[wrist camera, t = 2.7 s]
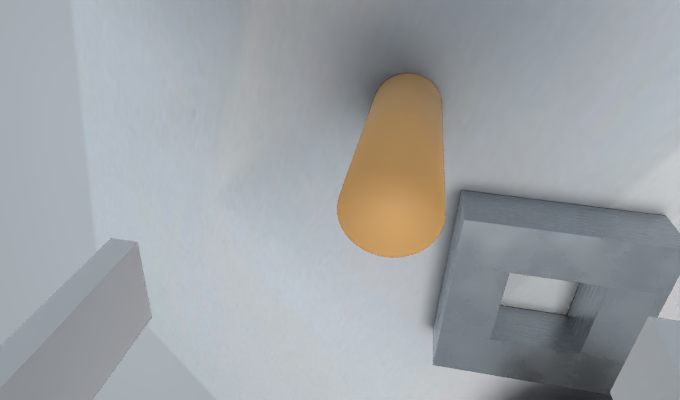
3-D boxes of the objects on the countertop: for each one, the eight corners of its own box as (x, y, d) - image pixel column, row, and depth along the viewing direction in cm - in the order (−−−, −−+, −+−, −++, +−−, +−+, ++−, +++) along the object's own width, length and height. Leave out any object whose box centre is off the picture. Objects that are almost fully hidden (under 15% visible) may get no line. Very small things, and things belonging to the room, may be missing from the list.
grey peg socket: (461, 190, 30) (464, 219, 27) (665, 215, 28) (692, 250, 25) (433, 328, 36) (432, 364, 33) (600, 355, 34) (615, 396, 31)
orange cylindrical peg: (376, 69, 27) (339, 158, 17) (447, 76, 27) (454, 172, 16) (370, 135, 29) (334, 249, 19) (436, 142, 29) (436, 264, 18)
